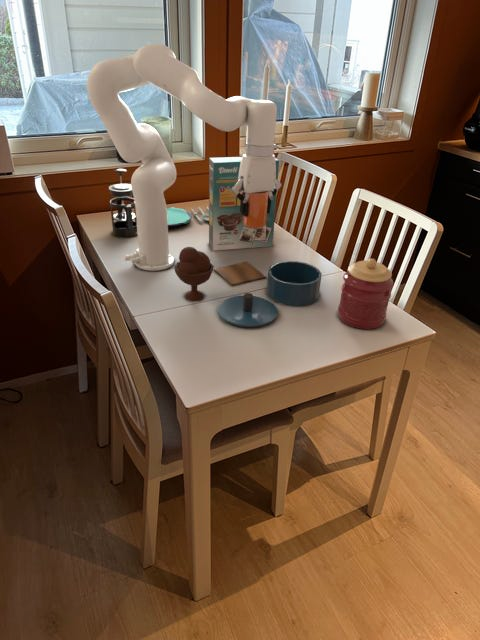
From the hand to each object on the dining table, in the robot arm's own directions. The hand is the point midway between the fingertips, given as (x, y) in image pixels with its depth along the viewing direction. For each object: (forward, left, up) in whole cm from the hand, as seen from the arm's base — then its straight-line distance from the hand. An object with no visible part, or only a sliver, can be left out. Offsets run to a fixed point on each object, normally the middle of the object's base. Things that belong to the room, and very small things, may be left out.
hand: (255, 212), depth 146 cm
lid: (-12, -18, -21) cm, 30 cm away
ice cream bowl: (-21, -3, -21) cm, 30 cm away
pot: (+6, -14, -21) cm, 26 cm away
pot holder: (-2, +4, -21) cm, 22 cm away
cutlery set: (0, +56, -21) cm, 60 cm away
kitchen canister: (+15, -34, -21) cm, 43 cm away
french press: (-23, +51, -21) cm, 60 cm away
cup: (0, 0, -3) cm, 3 cm away
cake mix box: (+10, +24, -21) cm, 34 cm away
